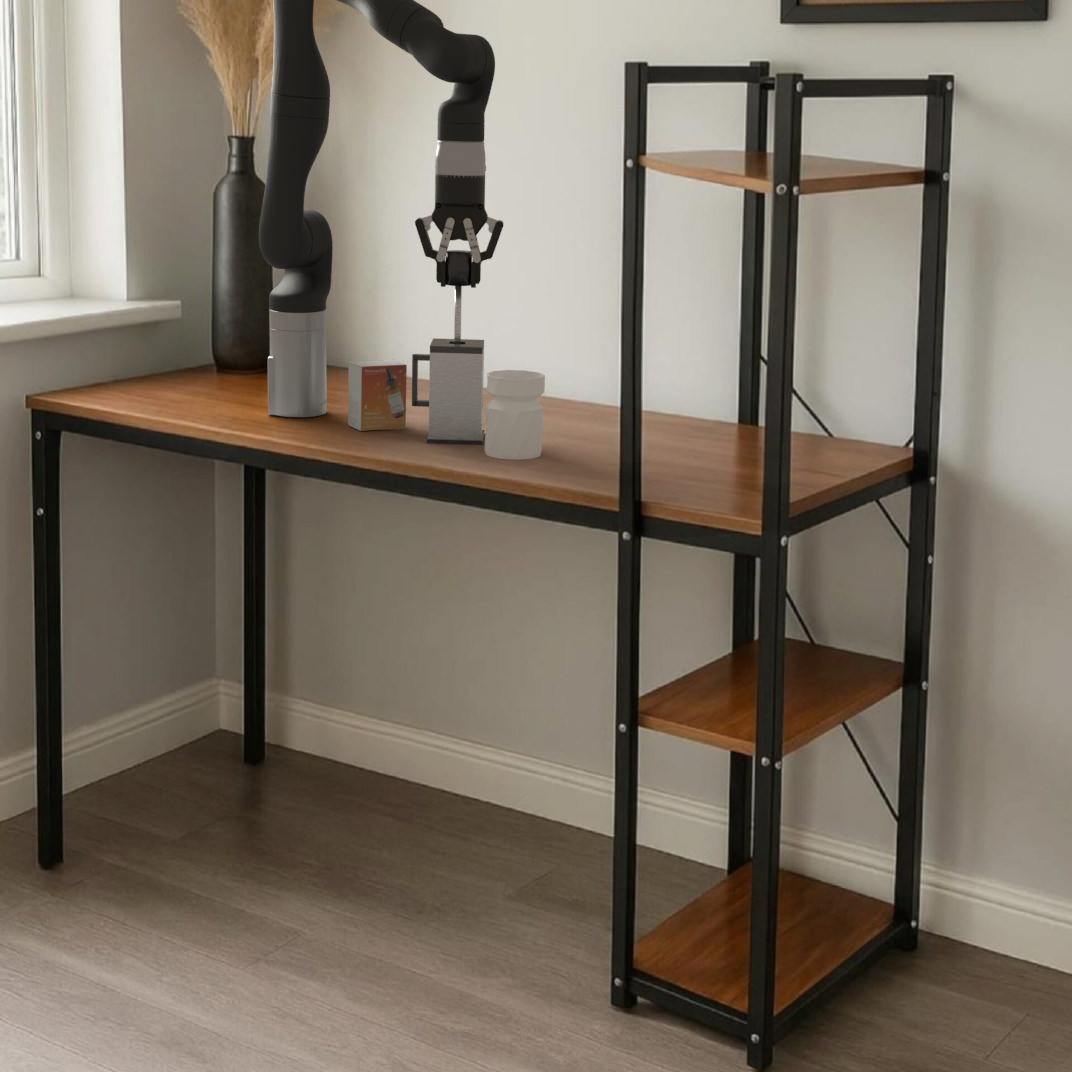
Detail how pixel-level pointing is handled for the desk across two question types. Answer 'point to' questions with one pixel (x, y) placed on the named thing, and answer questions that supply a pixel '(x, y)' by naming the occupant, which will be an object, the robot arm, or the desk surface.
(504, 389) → the white plastic jar
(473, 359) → the press carafe
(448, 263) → the plunger
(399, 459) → the desk surface
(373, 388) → the small box
